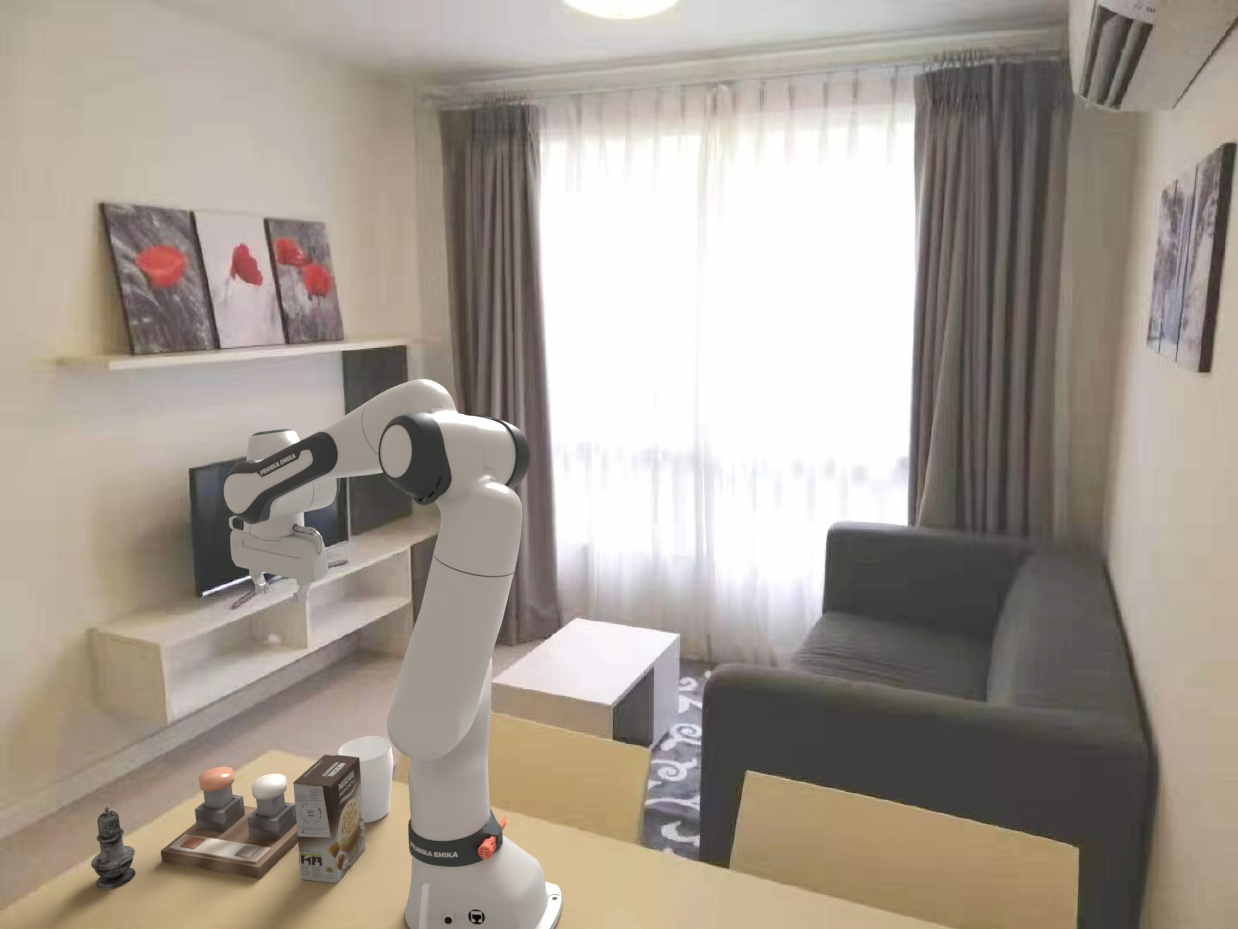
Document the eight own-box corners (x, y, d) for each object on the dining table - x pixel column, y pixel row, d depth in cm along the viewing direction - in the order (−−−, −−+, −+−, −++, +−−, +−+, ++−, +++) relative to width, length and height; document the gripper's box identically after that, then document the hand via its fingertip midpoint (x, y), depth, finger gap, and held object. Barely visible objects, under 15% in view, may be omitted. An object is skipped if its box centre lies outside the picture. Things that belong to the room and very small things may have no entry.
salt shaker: (118, 893, 132) (108, 820, 129) (84, 888, 133) (74, 816, 131) (146, 868, 137) (137, 798, 135) (113, 864, 138) (104, 794, 136)
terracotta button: (243, 797, 147) (240, 768, 146) (222, 814, 142) (218, 785, 141) (216, 793, 148) (213, 765, 148) (194, 810, 143) (191, 781, 143)
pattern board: (313, 826, 148) (311, 797, 147) (260, 879, 134) (257, 846, 133) (222, 813, 152) (219, 783, 151) (161, 862, 139) (158, 830, 138)
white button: (295, 804, 145) (292, 775, 144) (275, 822, 140) (272, 792, 139) (267, 800, 146) (265, 772, 145) (247, 818, 141) (244, 788, 140)
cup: (381, 792, 158) (376, 730, 156) (406, 812, 151) (401, 748, 149) (333, 812, 152) (328, 748, 150) (357, 834, 145) (352, 767, 143)
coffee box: (338, 885, 133) (330, 787, 130) (299, 880, 134) (291, 783, 131) (367, 848, 141) (360, 756, 139) (331, 844, 143) (323, 753, 140)
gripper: (335, 525, 150) (338, 602, 153) (251, 510, 159) (256, 583, 162) (306, 533, 145) (310, 613, 147) (221, 517, 154) (226, 593, 156)
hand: (281, 597), depth 155 cm, fingers open, 8 cm apart
